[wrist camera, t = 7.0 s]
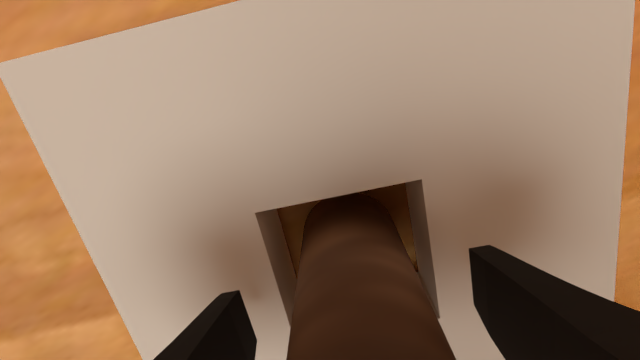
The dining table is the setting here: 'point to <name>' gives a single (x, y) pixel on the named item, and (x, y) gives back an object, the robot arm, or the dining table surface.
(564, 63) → the socket board
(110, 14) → the dining table surface
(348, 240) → the peg
